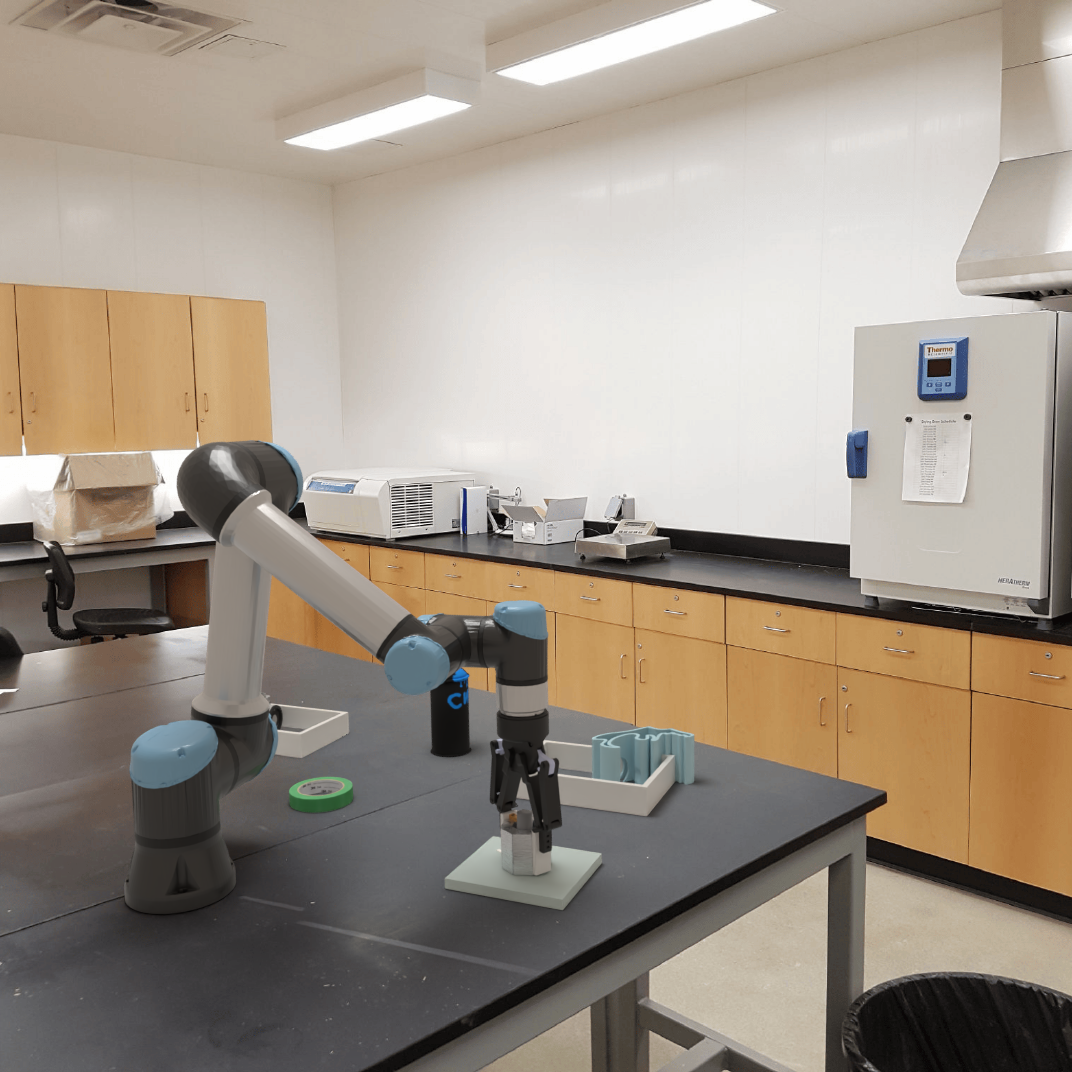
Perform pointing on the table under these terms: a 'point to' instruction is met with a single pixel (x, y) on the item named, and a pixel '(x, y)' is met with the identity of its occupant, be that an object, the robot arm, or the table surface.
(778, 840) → the table surface
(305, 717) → the camera corral
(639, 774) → the light blue curvy piece
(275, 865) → the table surface
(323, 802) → the tape roll
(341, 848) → the table surface
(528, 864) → the grey piece
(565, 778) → the dispenser corral
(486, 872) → the peg stand
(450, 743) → the aerosol can
